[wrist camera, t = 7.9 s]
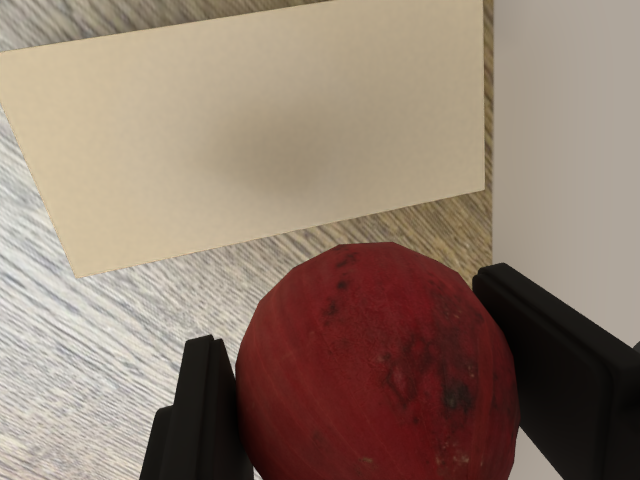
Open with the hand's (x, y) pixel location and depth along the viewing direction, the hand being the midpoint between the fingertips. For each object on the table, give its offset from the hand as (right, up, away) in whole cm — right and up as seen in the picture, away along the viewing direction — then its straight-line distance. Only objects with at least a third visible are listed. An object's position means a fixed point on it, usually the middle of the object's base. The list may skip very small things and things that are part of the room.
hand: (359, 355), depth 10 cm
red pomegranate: (-1, +1, +3) cm, 3 cm away
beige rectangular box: (-4, +10, +17) cm, 20 cm away
